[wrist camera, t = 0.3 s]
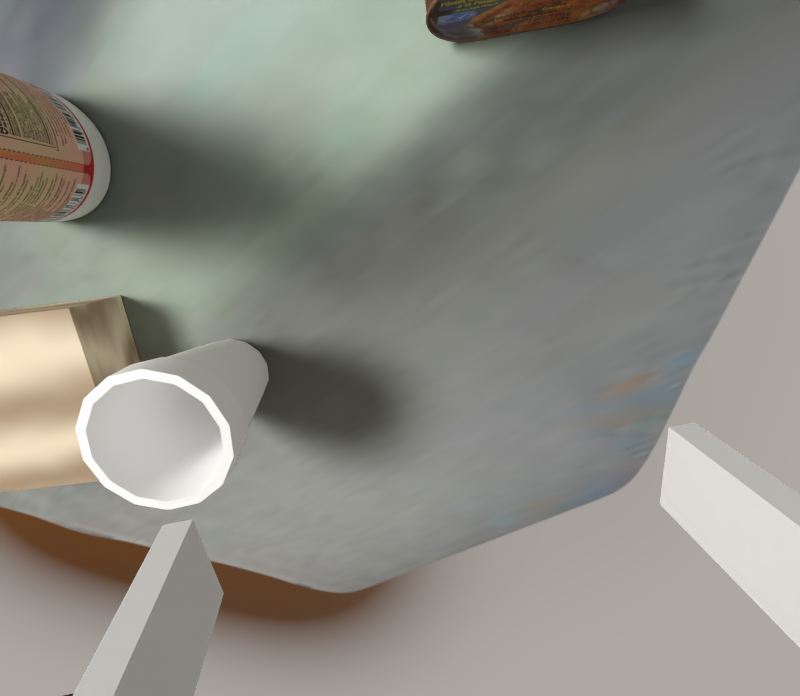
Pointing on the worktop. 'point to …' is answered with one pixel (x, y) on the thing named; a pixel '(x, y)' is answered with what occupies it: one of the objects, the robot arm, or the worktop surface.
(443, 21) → the tin
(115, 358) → the maple block
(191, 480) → the foam cup
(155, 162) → the worktop surface
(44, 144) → the fruit juice
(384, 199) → the worktop surface
